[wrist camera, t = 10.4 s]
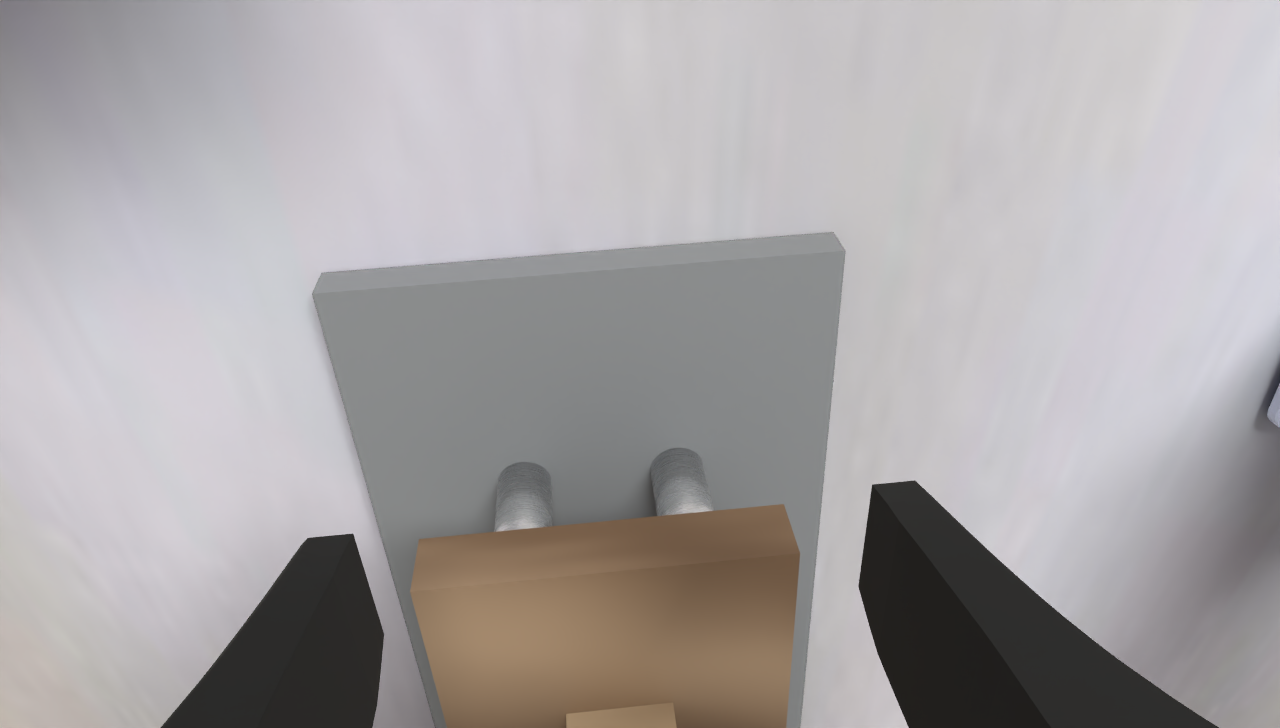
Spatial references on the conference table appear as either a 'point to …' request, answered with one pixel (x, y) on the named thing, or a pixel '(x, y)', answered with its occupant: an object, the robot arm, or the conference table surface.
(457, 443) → the peg stand
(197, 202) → the conference table surface
